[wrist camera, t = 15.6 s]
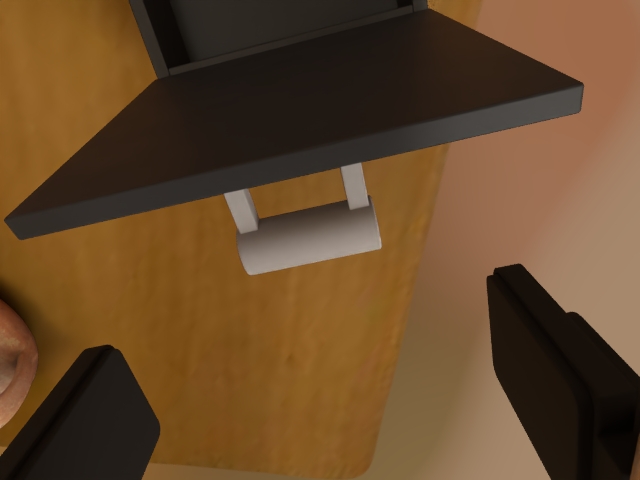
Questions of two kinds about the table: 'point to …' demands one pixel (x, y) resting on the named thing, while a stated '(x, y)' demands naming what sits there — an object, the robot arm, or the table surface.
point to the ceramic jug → (15, 362)
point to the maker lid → (299, 132)
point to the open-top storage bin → (246, 26)
